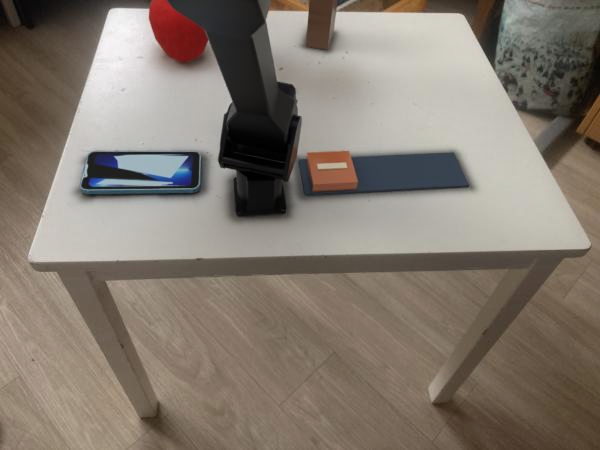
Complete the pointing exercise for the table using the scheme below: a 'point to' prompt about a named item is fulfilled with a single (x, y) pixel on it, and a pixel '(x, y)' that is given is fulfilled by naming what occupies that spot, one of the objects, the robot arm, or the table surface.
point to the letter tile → (331, 171)
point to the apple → (176, 32)
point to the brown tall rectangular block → (321, 23)
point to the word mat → (398, 173)
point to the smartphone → (141, 172)
